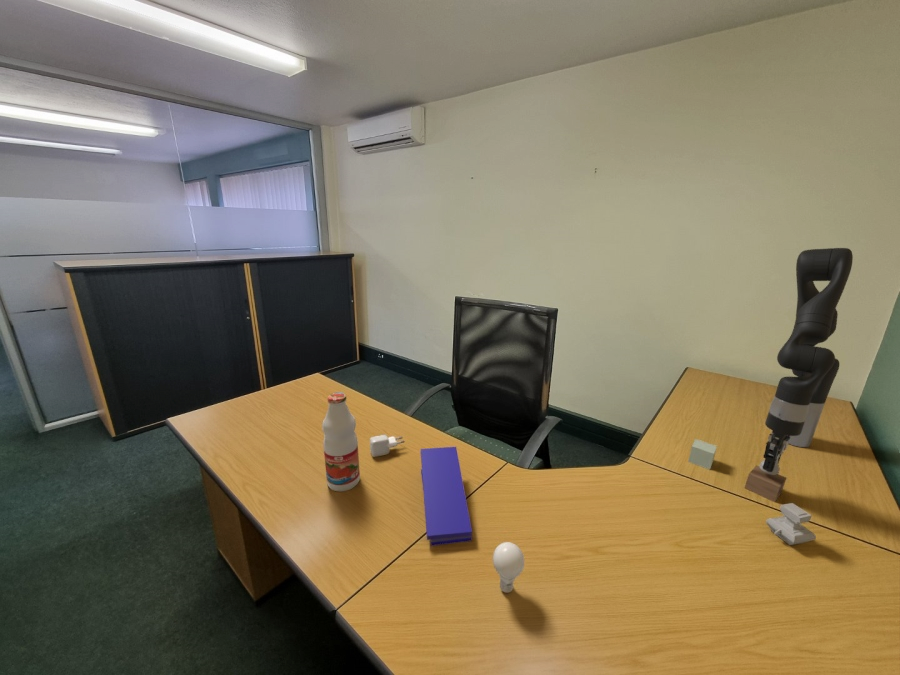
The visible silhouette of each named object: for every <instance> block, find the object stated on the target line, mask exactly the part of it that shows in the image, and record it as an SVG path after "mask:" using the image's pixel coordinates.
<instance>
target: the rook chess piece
mask: <svg viewBox="0 0 900 675" xmlns="http://www.w3.org/2000/svg"><path fill="white" fill-rule="evenodd" d="M778 451H780V450H778ZM783 452H784V451H783ZM783 452H782V453H783ZM783 454H784V453H783ZM769 455H771V454H769ZM772 456H773V455H772ZM779 457H780V454H779V456H778V458H777V459H779ZM780 458H781V457H780ZM764 461H765V459H763V460H762V461H760V464H759V465H758V466H759V467H760V469H761V470H762V471H763V472H765V473H768V474H771V475H776V474H779V475H780V467H779V463H778V460H777V461H776V463H775V466H774V469H773V471H772V472H769V471H767V470H764V469H763V465H764Z"/></svg>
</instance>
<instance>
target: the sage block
mask: <svg viewBox="0 0 900 675" xmlns="http://www.w3.org/2000/svg"><path fill="white" fill-rule="evenodd" d="M717 448H718V445H715V444H711V443H710V442H706V441H703V440H701V439H697V438H695V439H694V442H693V443H692V445H691V448H690V454H689V457H688V461H687V462H688V463H691V464H693V465H697V466H699V467H701V468H705V469H706V470H709V471H710V470H711V468H712V466H713V462H714V460H715V456H716V455H715V454H716V451H717Z"/></svg>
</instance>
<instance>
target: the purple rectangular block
mask: <svg viewBox="0 0 900 675" xmlns="http://www.w3.org/2000/svg"><path fill="white" fill-rule="evenodd" d="M420 458H421V460H420V461H421V468H420V475H421V480H422V489H423V500H424V501H423V504H424V516H425V529H426V540H427V541H430V546H440V545H446V544H447V545H448V544H456V543H463V542H470V541H472V538H473V531H472V524H471V520H470V519H471V518H470V512H469V509H468V504H467V497H466V492H465V488H464V482H463V477H462V476H463V475H462V471H461V466H460V460H459V455H458V449H457V446H446V447H432V448H420Z"/></svg>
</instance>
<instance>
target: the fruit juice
mask: <svg viewBox="0 0 900 675" xmlns="http://www.w3.org/2000/svg"><path fill="white" fill-rule="evenodd" d="M346 402H347V395H346V393H344V392H334V393H331V394H329V395H328V396H327V403H328V407H327V412H326V414H325V417H324V419H323V421H322V424H321V428H322V432H323V435H324V438H323V454H324V464H325V465H324V466H325V474H326V484H327V486H328V488H329V489H330V490H332V491H333V492H334V491H335V492H346V491H350V490H351V489H353V488H355V487H356V486H357V485H358V483H359V481H360V478H361V476H360V474H361V472H360V460H359V458H360V457H359V441H358V437H357V433H356V432H355V430H356V428H357V427H356V426H357V422H356V418H355V416H354V414H352V413H351V411H350V410H349V408H348V405H347V403H346Z"/></svg>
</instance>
